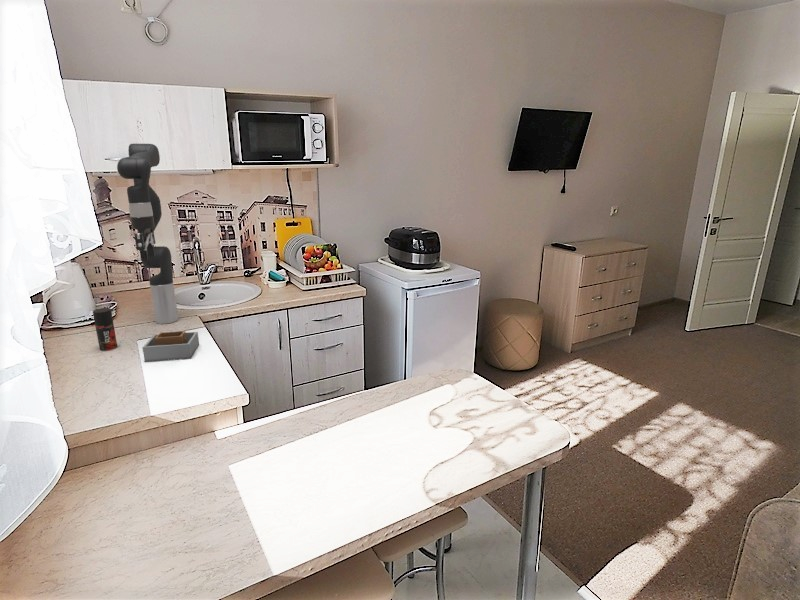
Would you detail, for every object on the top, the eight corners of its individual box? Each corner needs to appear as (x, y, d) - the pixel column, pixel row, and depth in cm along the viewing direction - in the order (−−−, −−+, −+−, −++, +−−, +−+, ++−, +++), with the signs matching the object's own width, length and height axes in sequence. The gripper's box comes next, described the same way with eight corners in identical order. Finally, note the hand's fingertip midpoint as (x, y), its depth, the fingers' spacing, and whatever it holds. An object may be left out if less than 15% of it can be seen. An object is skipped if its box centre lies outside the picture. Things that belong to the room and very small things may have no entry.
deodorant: (104, 351, 187) (96, 313, 183) (96, 348, 190) (89, 310, 186) (120, 347, 191) (113, 309, 187) (113, 344, 195) (106, 307, 191)
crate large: (156, 348, 190) (154, 334, 188) (199, 345, 192) (197, 331, 191) (144, 361, 177) (142, 347, 175) (191, 358, 179) (189, 344, 178)
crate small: (162, 349, 187) (159, 332, 185) (187, 347, 188) (185, 331, 186) (157, 355, 181) (154, 338, 179) (183, 353, 182) (181, 336, 180)
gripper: (137, 213, 189) (143, 255, 194) (123, 217, 176) (131, 262, 180) (158, 212, 191) (164, 254, 195) (146, 216, 177) (153, 261, 181)
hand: (148, 258), depth 188 cm, fingers open, 8 cm apart
